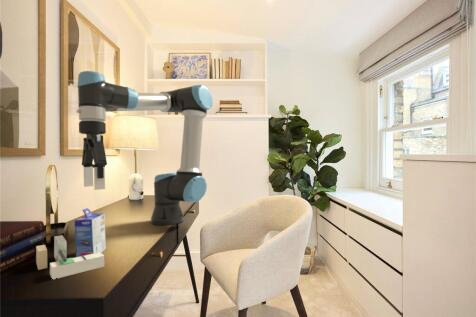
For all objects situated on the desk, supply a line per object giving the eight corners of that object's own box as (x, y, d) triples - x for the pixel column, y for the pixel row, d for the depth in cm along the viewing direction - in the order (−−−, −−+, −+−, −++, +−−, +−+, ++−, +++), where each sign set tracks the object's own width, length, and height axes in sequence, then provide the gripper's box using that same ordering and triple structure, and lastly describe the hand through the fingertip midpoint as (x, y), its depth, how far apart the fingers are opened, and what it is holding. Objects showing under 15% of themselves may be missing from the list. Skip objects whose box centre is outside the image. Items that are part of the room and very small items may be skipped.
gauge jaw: (62, 256, 82) (62, 235, 82) (72, 273, 69) (72, 248, 69) (54, 257, 80) (54, 236, 80) (63, 275, 68) (63, 250, 68)
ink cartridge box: (88, 250, 88) (88, 206, 88) (106, 249, 89) (106, 205, 89) (74, 261, 78) (73, 211, 78) (93, 260, 79) (93, 211, 79)
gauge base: (90, 252, 86) (90, 236, 86) (104, 266, 74) (104, 248, 74) (36, 263, 77) (36, 246, 77) (41, 282, 65) (41, 261, 65)
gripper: (71, 124, 92) (72, 186, 92) (88, 115, 73) (90, 192, 73) (95, 126, 97) (96, 184, 97) (117, 117, 78) (119, 189, 78)
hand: (93, 187), depth 85 cm, fingers open, 13 cm apart
